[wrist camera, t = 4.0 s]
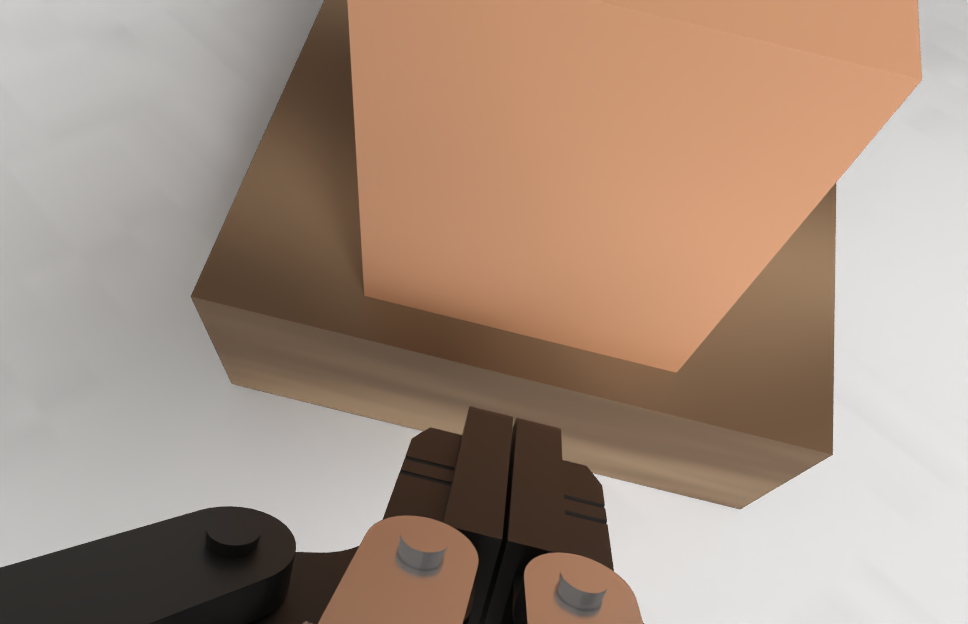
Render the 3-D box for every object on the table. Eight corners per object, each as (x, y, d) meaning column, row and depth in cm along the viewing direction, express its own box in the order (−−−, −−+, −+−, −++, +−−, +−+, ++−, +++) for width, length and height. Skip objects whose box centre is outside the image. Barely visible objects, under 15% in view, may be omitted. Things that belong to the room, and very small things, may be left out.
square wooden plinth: (740, 509, 21) (832, 454, 17) (231, 384, 21) (190, 296, 17) (765, 138, 27) (838, 26, 23) (368, 42, 27) (364, -89, 23)
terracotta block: (676, 372, 17) (922, 79, 9) (364, 295, 17) (344, -61, 9) (704, 129, 21) (904, -242, 13) (441, 65, 21) (474, -346, 13)
